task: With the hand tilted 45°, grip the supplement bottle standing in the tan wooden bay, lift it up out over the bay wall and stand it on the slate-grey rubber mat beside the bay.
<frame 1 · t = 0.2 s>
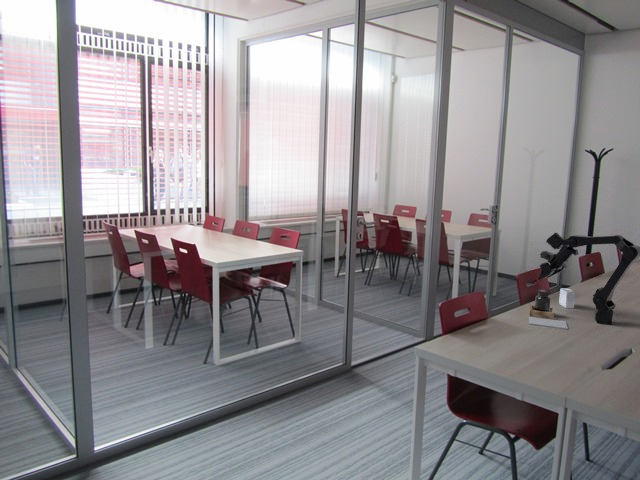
hand: (542, 278, 260), 15 cm above the table, tool tilted 35°, fingers open, 9 cm apart
medicine box: (566, 306, 265), on the table
supplement bottle: (541, 315, 248), on the table
slate mat: (547, 323, 235), on the table
tan wooden bay: (541, 314, 248), on the table
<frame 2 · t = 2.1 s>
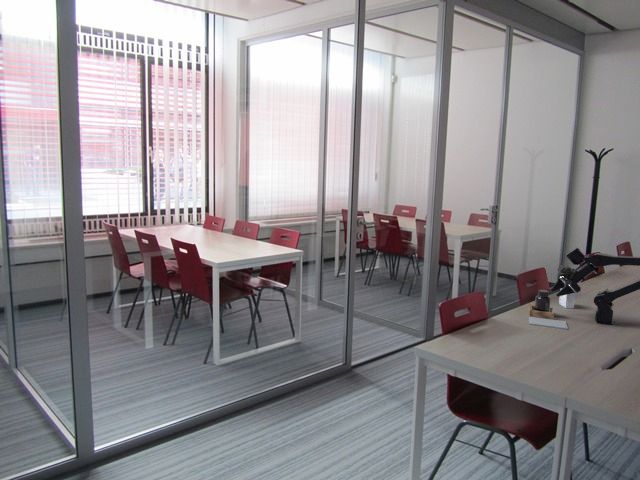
hand: (554, 293, 246), 11 cm above the table, tool tilted 45°, fingers open, 9 cm apart
nothing on the table moved.
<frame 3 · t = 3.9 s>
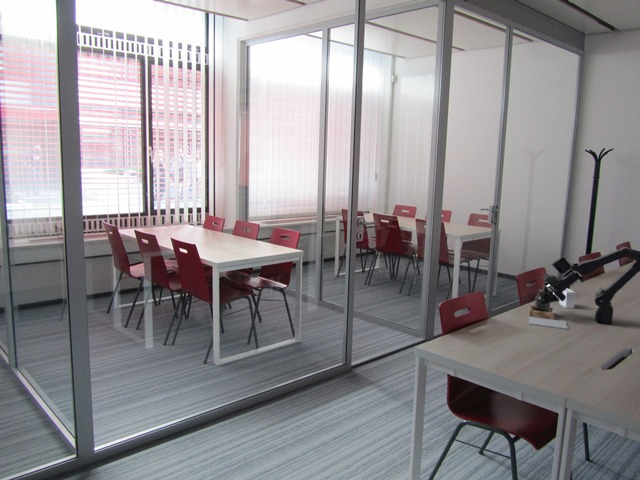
hand: (539, 301, 247), 7 cm above the table, tool tilted 45°, fingers closed on supplement bottle, 6 cm apart
supplement bottle: (541, 315, 248), on the table, touching gripper
everything else where it was.
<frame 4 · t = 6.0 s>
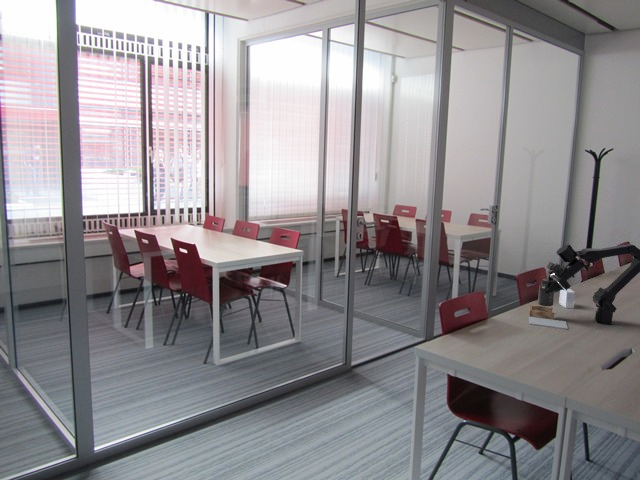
hand: (543, 290, 241), 13 cm above the table, tool tilted 45°, fingers closed on supplement bottle, 6 cm apart
supplement bottle: (545, 305, 242), point 6 cm above the table, touching gripper
everything else where it was.
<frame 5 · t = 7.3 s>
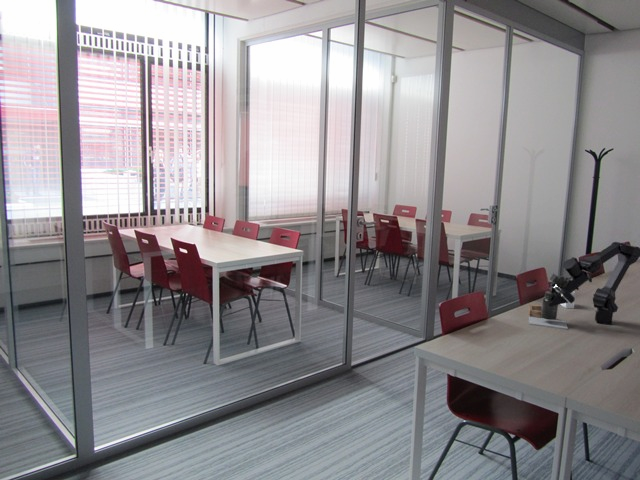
hand: (546, 303, 234), 9 cm above the table, tool tilted 45°, fingers closed on supplement bottle, 6 cm apart
supplement bottle: (548, 318, 235), point 2 cm above the table, touching gripper
everything else where it was.
when the fingers open (8 cm above the table, at t = 8.1 s): supplement bottle stays where it is, resting on slate mat.
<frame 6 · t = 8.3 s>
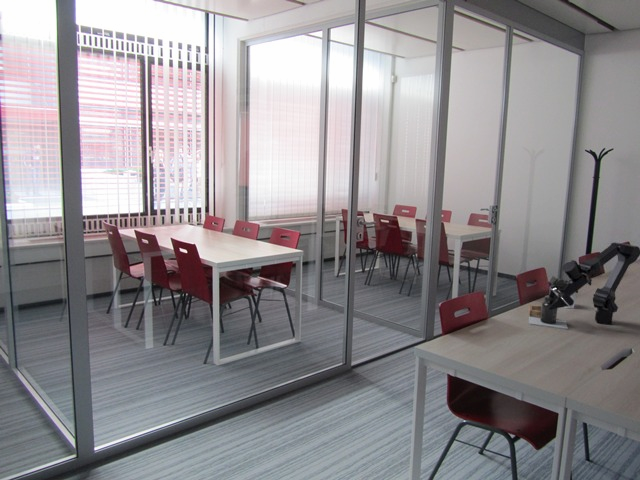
hand: (546, 306, 234), 8 cm above the table, tool tilted 45°, fingers open, 9 cm apart
supplement bottle: (547, 322, 236), resting on slate mat
everything else where it was.
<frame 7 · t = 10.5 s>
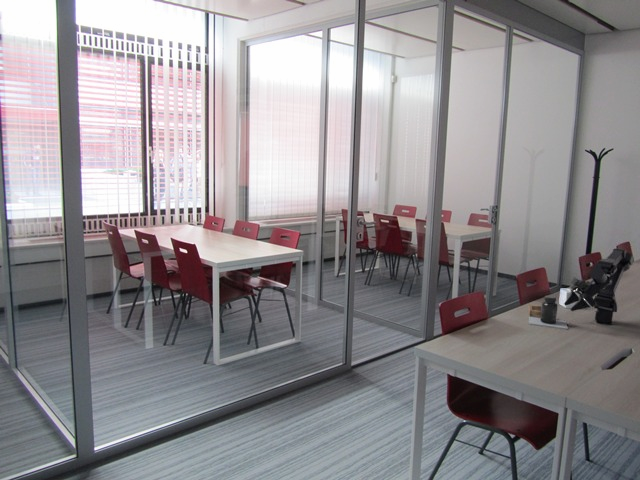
hand: (567, 307, 233), 8 cm above the table, tool tilted 45°, fingers open, 9 cm apart
nothing on the table moved.
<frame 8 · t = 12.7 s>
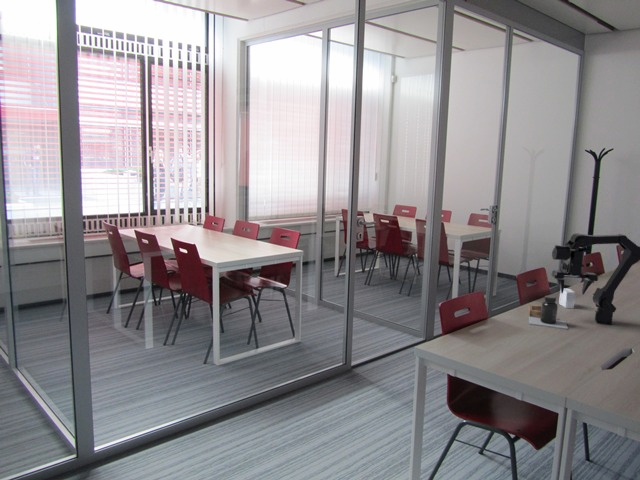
hand: (572, 293, 239), 13 cm above the table, tool pointing down, fingers open, 9 cm apart
nothing on the table moved.
at the end: supplement bottle inside the target area (0.7 cm from its centre), resting on slate mat; supplement bottle tilted 0°; the gripper is holding nothing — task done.
